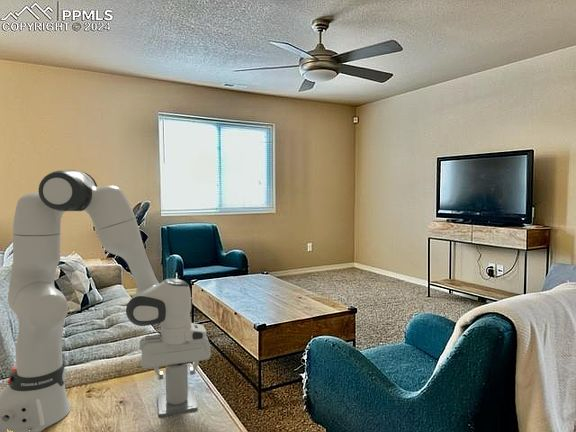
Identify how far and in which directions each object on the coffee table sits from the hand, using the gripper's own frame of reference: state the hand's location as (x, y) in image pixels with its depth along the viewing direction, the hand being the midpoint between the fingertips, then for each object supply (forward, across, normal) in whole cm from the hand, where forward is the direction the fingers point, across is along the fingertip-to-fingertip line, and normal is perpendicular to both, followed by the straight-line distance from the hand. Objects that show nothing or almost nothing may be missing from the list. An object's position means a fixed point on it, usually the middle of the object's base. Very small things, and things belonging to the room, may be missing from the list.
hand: (176, 376), depth 119 cm
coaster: (+9, 0, 0) cm, 9 cm away
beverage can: (+8, 0, 0) cm, 8 cm away
